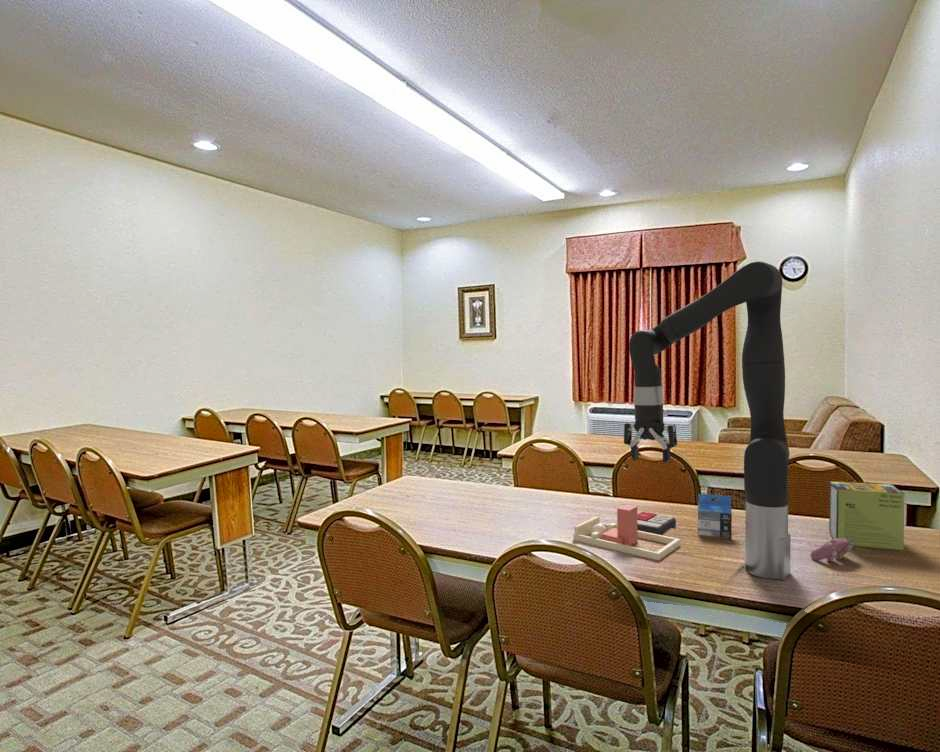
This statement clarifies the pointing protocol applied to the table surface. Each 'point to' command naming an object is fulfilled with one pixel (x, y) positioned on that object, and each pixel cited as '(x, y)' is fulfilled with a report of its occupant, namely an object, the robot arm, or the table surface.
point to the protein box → (867, 514)
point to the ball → (599, 529)
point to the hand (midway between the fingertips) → (650, 461)
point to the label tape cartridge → (715, 516)
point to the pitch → (587, 528)
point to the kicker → (624, 527)
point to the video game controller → (832, 549)
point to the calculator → (654, 523)
